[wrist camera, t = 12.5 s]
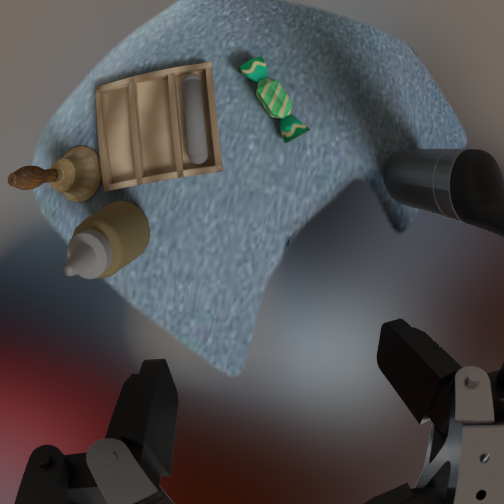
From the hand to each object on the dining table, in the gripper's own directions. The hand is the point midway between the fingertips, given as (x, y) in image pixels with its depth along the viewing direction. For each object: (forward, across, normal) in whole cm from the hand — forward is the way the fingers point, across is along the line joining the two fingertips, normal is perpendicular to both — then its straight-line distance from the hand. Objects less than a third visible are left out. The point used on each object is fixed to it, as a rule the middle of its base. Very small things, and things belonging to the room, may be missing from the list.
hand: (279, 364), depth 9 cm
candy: (+31, -7, -16) cm, 35 cm away
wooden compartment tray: (+30, +9, -14) cm, 34 cm away
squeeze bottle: (+30, +15, -1) cm, 34 cm away
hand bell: (+30, +22, -10) cm, 39 cm away
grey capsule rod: (+29, +4, -14) cm, 33 cm away
